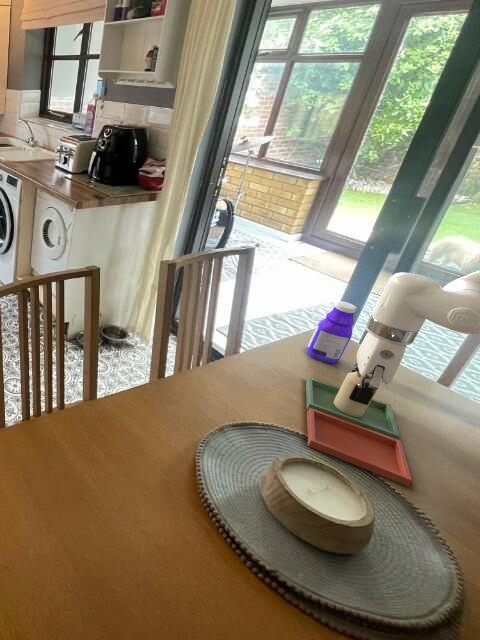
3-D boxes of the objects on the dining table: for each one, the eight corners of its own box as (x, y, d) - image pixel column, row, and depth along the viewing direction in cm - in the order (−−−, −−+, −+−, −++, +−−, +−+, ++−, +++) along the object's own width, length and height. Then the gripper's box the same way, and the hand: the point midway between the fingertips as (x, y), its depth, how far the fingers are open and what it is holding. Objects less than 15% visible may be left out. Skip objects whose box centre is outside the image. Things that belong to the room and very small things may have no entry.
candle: (327, 402, 99) (343, 370, 94) (343, 398, 100) (360, 365, 96) (352, 419, 94) (371, 386, 90) (369, 414, 95) (388, 381, 91)
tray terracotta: (396, 447, 88) (401, 440, 87) (407, 487, 79) (412, 480, 78) (306, 413, 96) (309, 407, 95) (307, 447, 88) (311, 440, 87)
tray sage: (386, 410, 97) (390, 404, 97) (395, 443, 89) (399, 436, 88) (305, 382, 106) (308, 376, 105) (306, 410, 97) (309, 403, 96)
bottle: (336, 356, 116) (361, 304, 108) (339, 367, 111) (366, 313, 104) (304, 347, 119) (327, 296, 112) (306, 358, 115) (330, 305, 107)
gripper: (425, 356, 79) (383, 424, 87) (407, 317, 92) (372, 379, 99) (373, 341, 83) (338, 408, 91) (363, 306, 96) (333, 367, 103)
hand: (356, 392), depth 95 cm, fingers closed on candle, 5 cm apart
